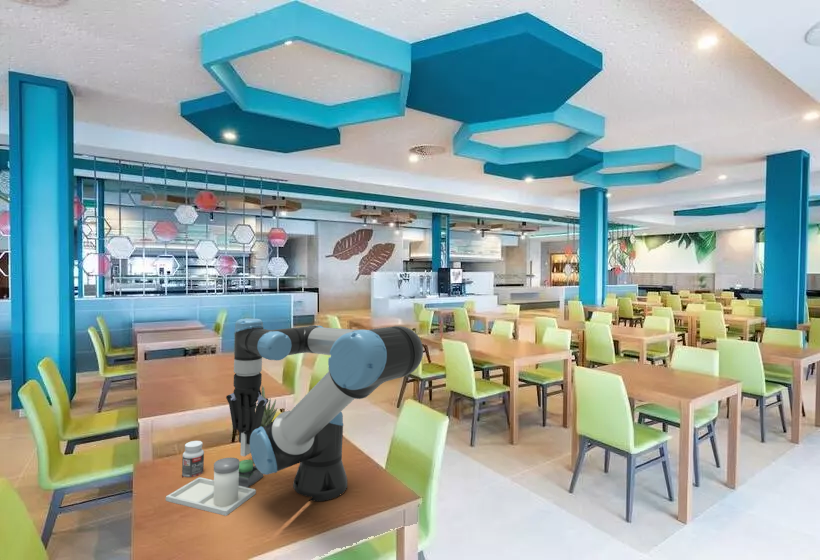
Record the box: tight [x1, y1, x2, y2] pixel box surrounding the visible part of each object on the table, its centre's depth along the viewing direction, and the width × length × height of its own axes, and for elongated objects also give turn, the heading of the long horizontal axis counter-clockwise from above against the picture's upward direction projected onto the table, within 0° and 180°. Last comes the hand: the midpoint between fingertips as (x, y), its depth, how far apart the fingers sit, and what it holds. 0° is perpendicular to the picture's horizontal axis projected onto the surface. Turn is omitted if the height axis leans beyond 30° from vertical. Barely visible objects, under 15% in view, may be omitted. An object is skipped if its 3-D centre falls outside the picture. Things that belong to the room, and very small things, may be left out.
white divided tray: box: [165, 476, 257, 517], centre depth 116 cm, size 20×13×2 cm, turn 72°
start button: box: [239, 459, 254, 473], centre depth 126 cm, size 4×4×2 cm
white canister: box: [213, 457, 240, 507], centre depth 115 cm, size 6×6×10 cm
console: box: [239, 464, 264, 488], centre depth 126 cm, size 7×7×4 cm
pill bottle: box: [181, 440, 205, 478], centre depth 129 cm, size 6×6×10 cm
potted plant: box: [255, 385, 278, 427], centre depth 142 cm, size 10×10×25 cm
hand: (245, 454), depth 126 cm, fingers closed
